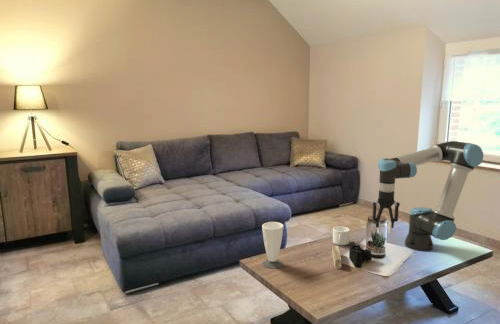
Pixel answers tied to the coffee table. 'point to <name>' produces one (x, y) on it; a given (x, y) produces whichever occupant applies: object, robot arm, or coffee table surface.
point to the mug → (341, 235)
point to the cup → (272, 243)
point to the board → (336, 257)
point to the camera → (359, 255)
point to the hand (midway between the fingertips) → (384, 233)
